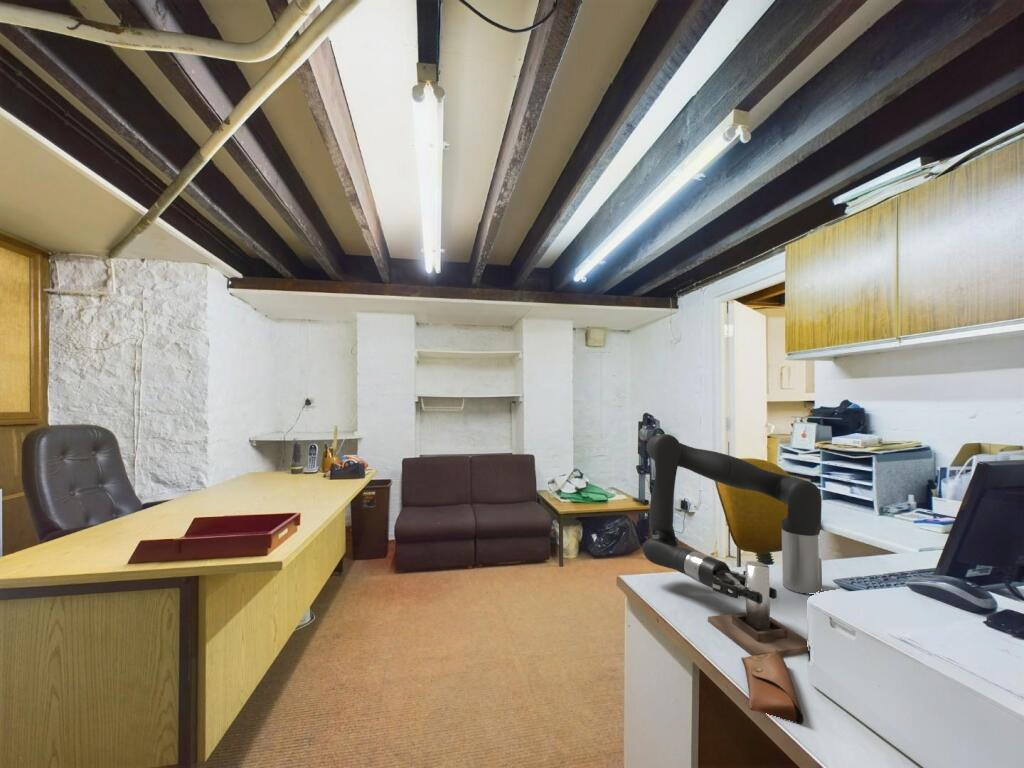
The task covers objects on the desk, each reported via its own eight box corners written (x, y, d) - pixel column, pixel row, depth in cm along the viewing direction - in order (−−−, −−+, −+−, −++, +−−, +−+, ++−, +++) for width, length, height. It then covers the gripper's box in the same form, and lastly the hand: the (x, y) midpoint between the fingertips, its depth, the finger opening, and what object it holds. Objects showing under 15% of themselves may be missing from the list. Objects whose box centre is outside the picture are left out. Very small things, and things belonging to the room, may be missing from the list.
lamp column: (758, 617, 102) (757, 560, 103) (775, 628, 97) (774, 568, 98) (741, 619, 101) (740, 562, 102) (757, 630, 96) (756, 570, 97)
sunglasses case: (738, 654, 91) (755, 632, 90) (770, 678, 88) (788, 655, 87) (749, 711, 75) (770, 684, 73) (788, 742, 72) (811, 715, 71)
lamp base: (760, 615, 108) (760, 603, 109) (816, 651, 93) (816, 637, 93) (707, 621, 105) (707, 609, 105) (757, 659, 89) (756, 645, 90)
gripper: (688, 560, 109) (749, 586, 94) (723, 552, 116) (786, 575, 100) (688, 589, 109) (750, 620, 94) (723, 578, 115) (786, 606, 100)
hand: (768, 596), depth 97 cm, fingers closed on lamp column, 5 cm apart
